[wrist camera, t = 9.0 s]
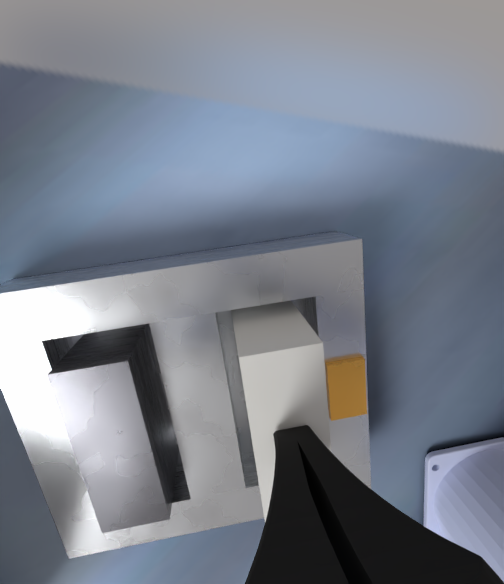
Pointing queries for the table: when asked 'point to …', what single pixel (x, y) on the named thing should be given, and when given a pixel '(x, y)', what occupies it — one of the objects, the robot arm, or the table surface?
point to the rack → (169, 383)
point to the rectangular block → (279, 380)
